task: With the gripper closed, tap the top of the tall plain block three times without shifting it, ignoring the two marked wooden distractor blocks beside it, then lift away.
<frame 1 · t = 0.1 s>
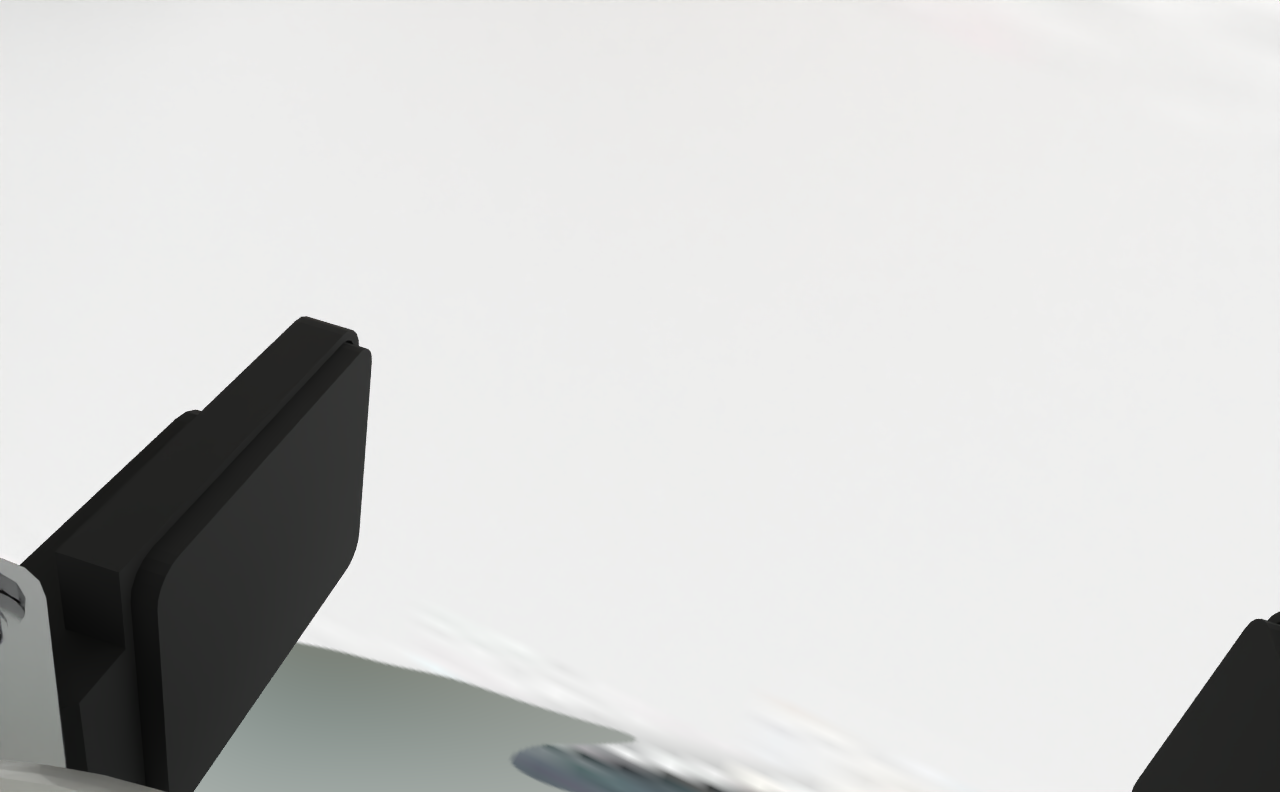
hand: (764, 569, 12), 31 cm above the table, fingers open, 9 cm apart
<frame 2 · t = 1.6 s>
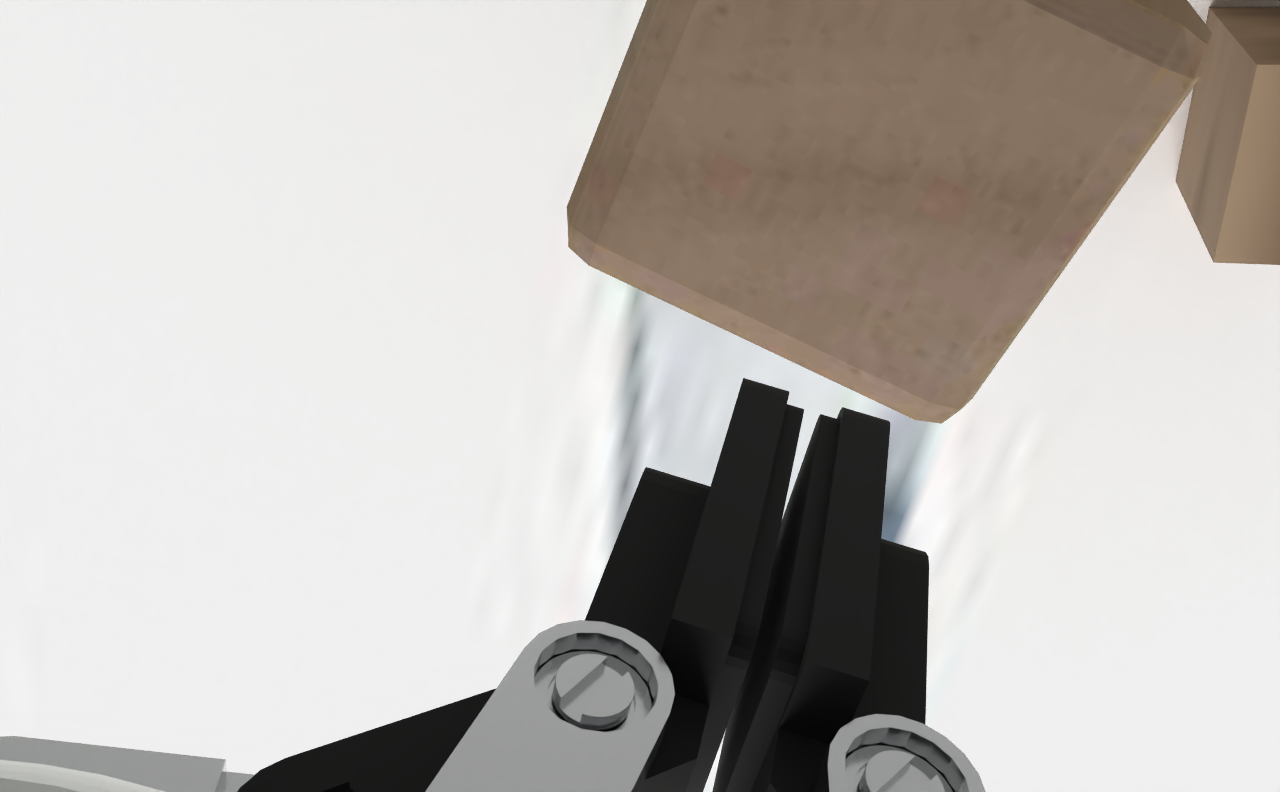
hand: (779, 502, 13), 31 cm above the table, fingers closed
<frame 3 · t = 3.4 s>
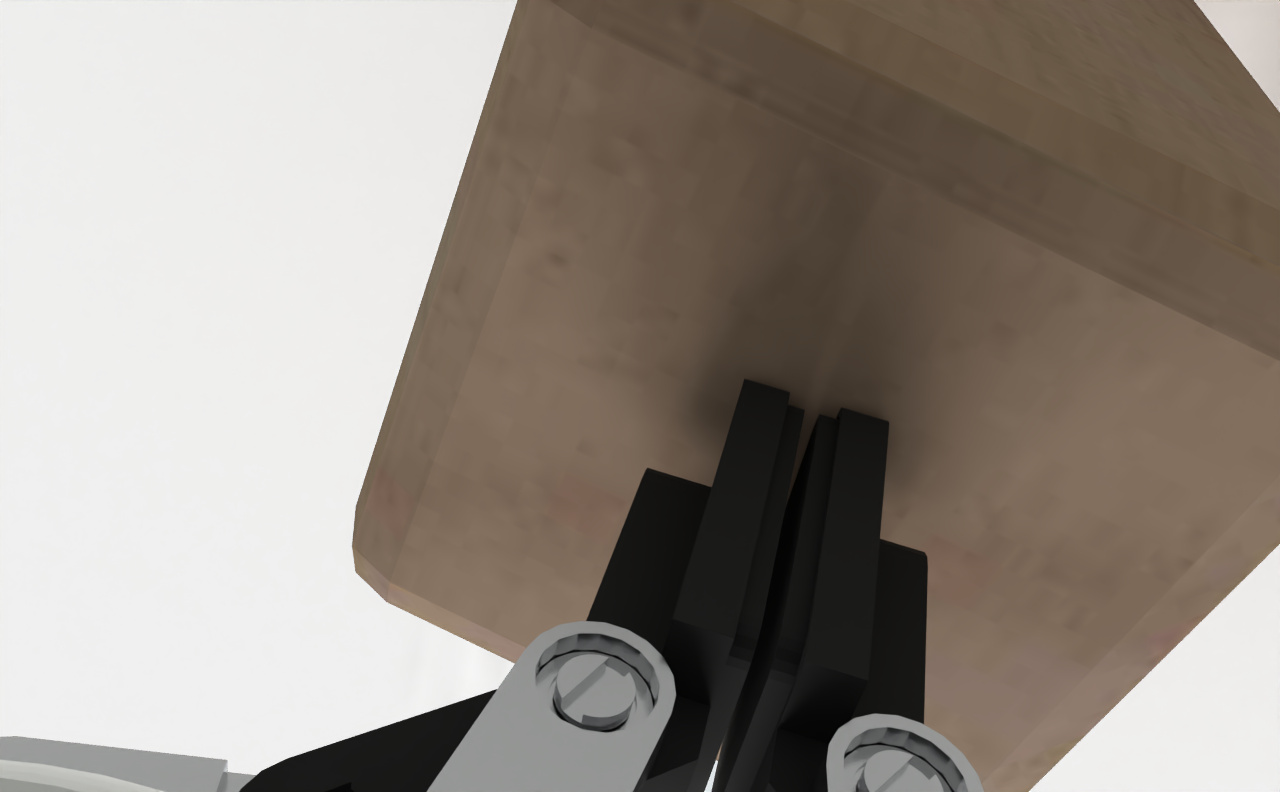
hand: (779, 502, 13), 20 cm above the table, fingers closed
block: (889, 53, 30), on the table, touching gripper
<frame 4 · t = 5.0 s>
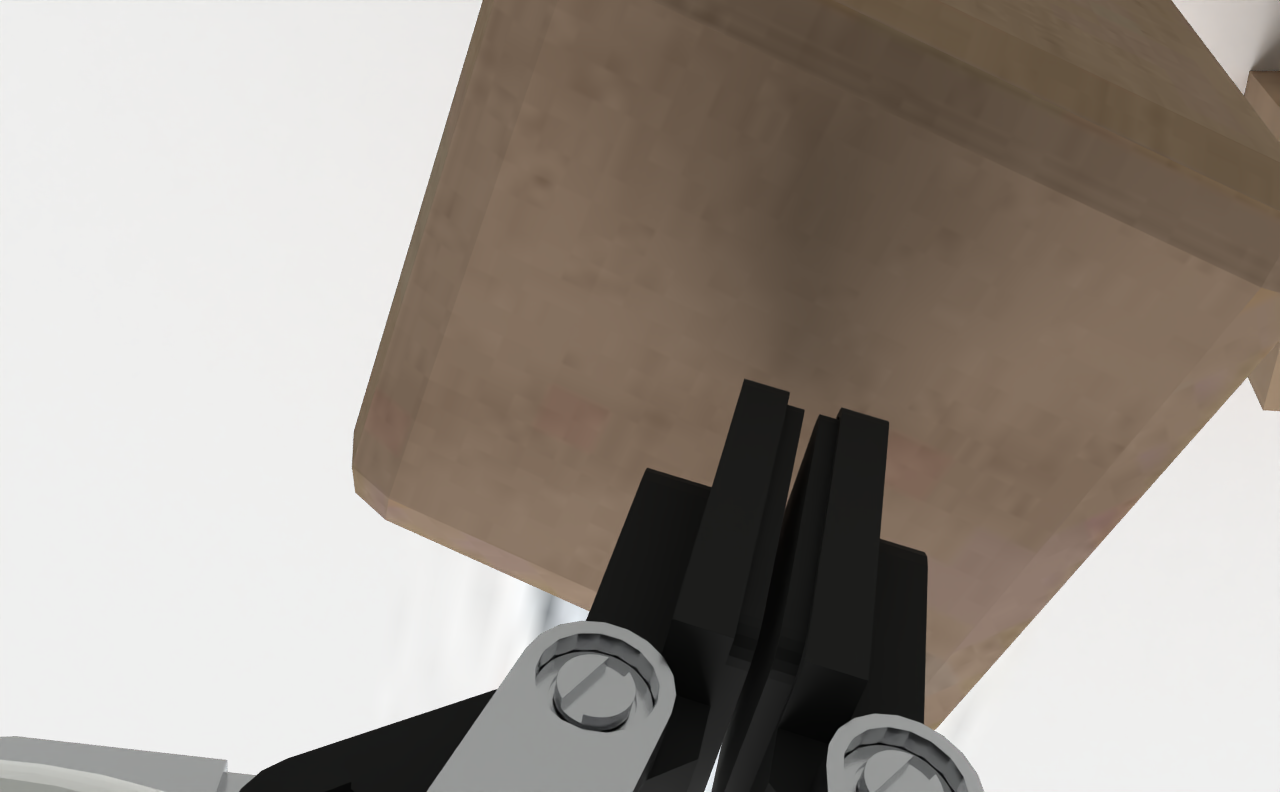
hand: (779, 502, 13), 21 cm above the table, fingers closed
block: (849, 11, 31), on the table
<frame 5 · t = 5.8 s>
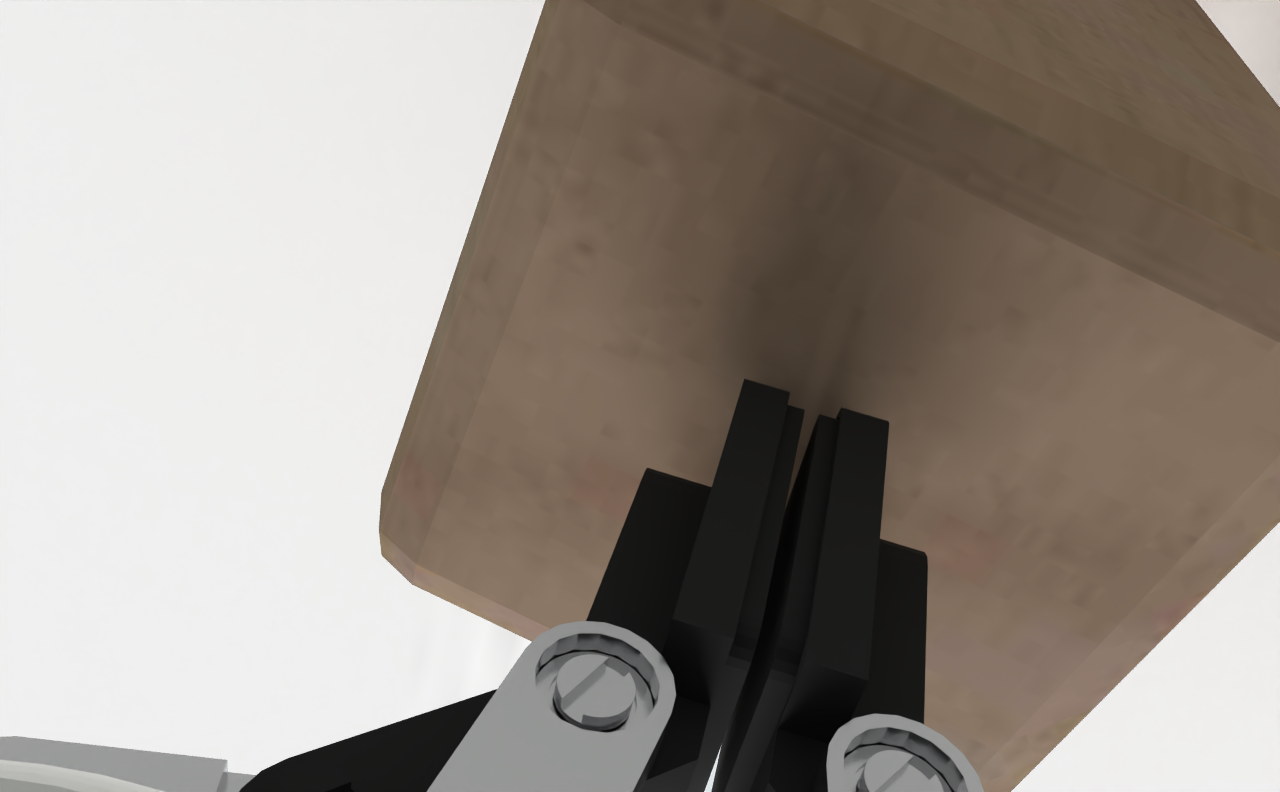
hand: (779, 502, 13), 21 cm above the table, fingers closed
block: (893, 50, 30), on the table
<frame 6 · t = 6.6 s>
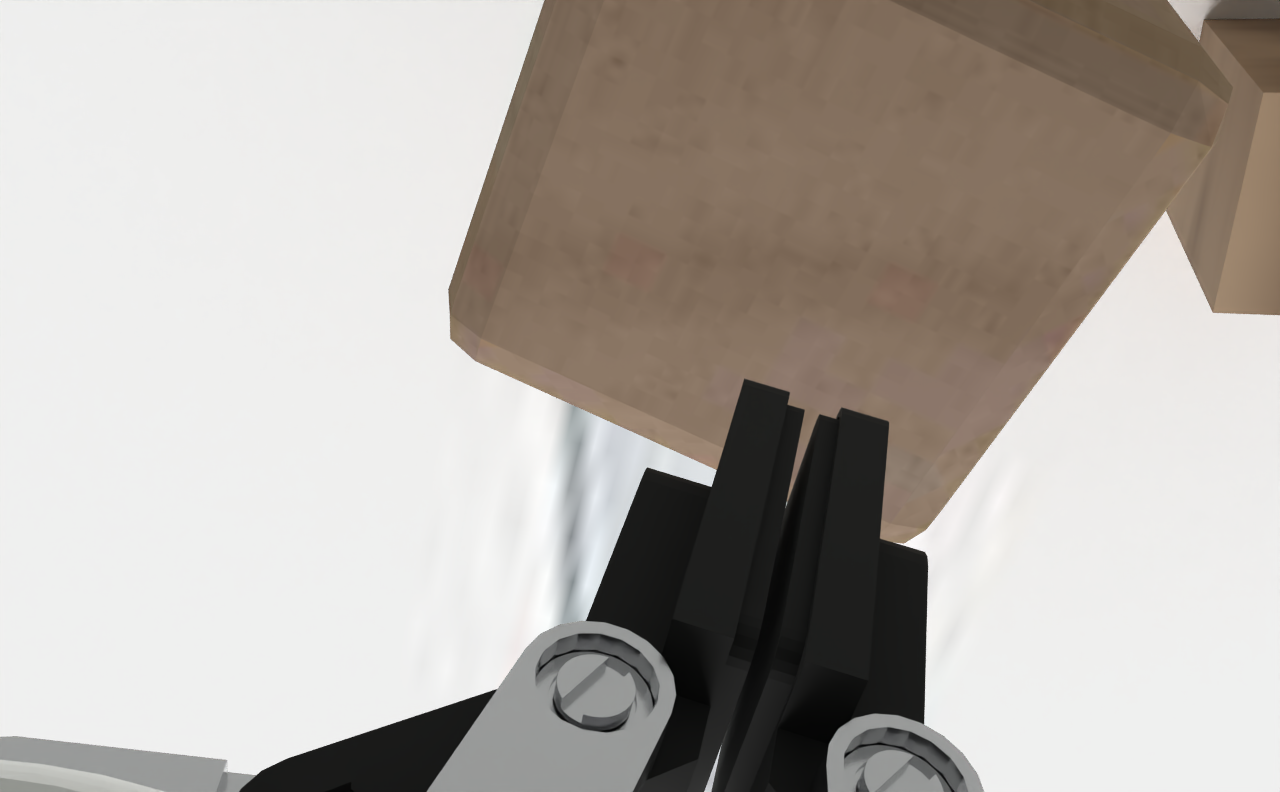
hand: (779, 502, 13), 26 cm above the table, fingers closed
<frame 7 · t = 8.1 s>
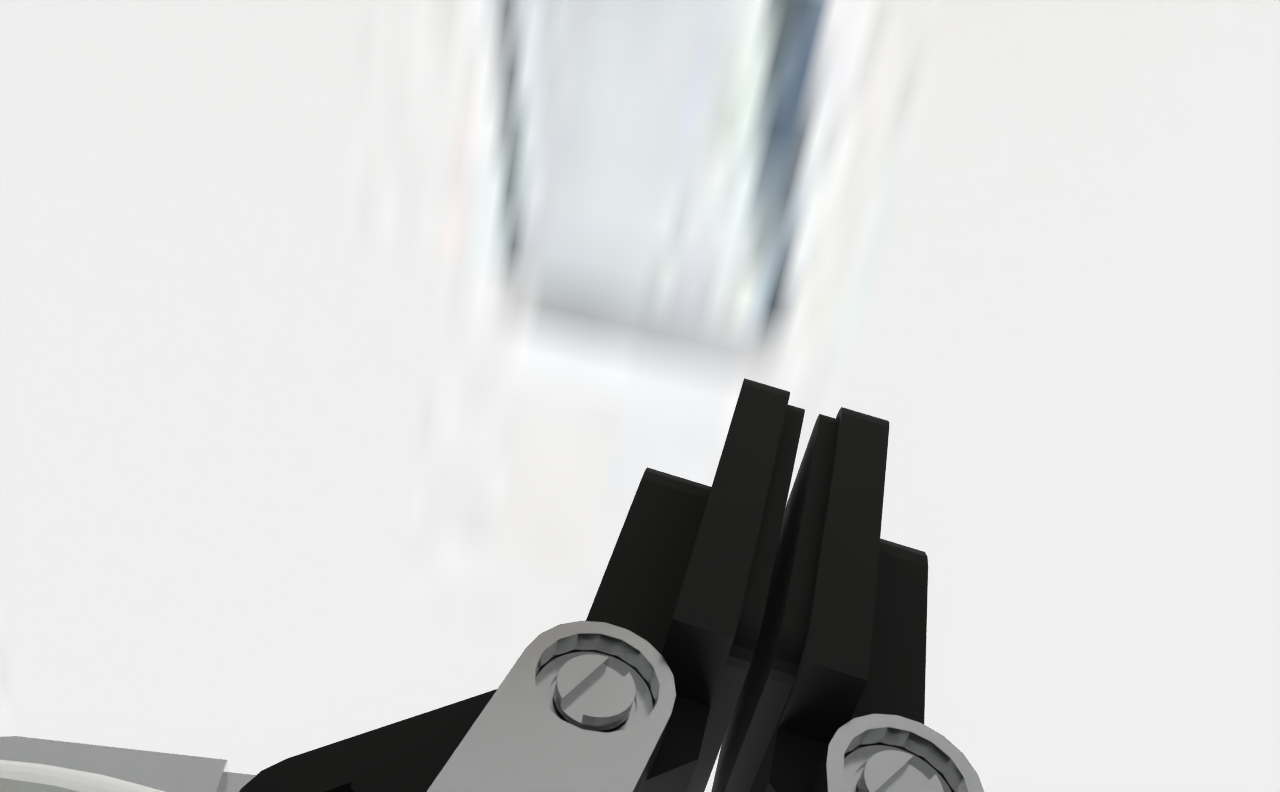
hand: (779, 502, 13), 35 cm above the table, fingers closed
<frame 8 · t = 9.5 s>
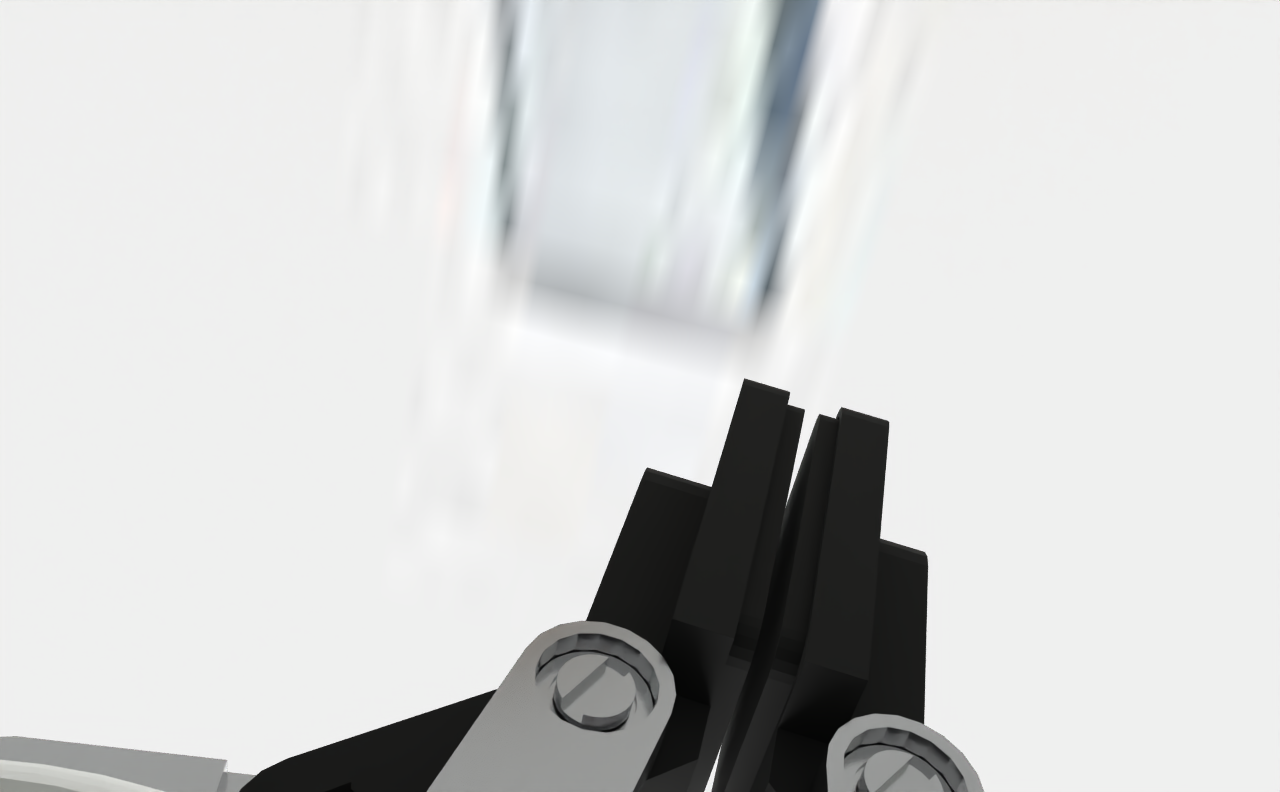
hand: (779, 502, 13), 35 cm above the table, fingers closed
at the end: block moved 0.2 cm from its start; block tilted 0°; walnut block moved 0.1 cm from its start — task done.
